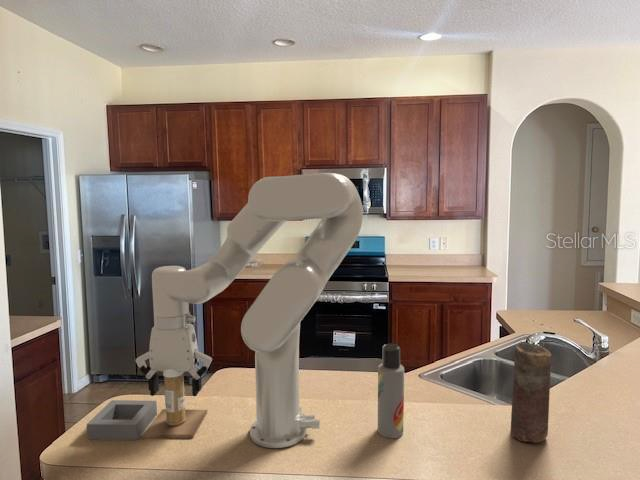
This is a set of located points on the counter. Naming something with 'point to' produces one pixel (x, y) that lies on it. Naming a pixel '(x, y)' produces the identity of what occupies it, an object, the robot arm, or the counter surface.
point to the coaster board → (178, 431)
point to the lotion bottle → (390, 393)
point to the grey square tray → (113, 429)
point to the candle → (530, 393)
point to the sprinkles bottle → (174, 397)
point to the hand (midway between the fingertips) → (175, 393)
